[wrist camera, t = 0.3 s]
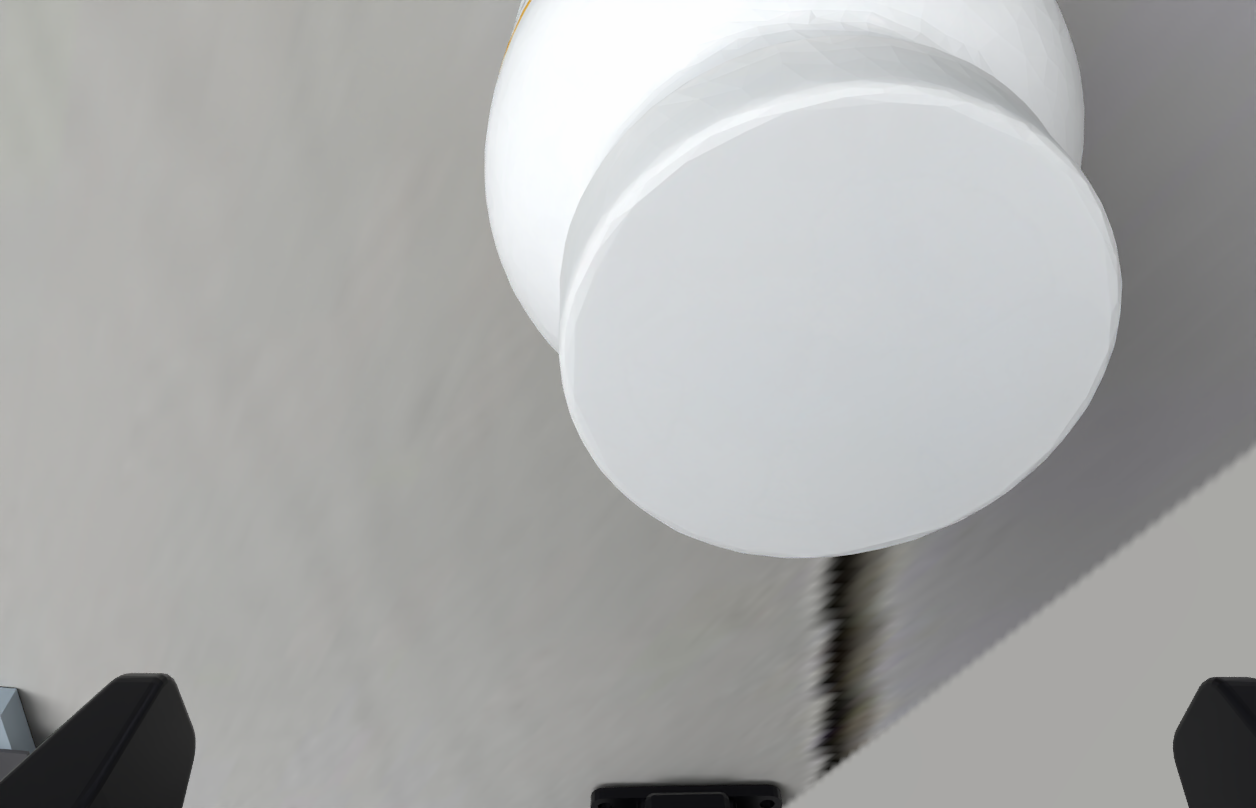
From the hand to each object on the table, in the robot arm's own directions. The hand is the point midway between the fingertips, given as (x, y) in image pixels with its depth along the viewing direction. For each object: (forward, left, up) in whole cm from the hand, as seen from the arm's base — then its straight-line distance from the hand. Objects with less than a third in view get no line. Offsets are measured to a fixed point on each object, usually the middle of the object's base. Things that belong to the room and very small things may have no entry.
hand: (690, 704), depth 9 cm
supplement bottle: (+3, -1, -14) cm, 15 cm away
